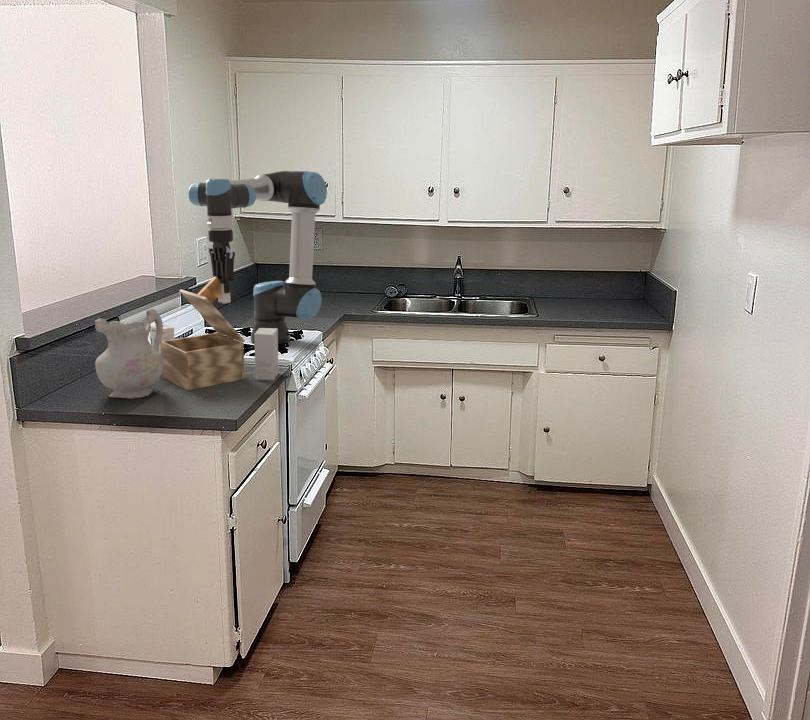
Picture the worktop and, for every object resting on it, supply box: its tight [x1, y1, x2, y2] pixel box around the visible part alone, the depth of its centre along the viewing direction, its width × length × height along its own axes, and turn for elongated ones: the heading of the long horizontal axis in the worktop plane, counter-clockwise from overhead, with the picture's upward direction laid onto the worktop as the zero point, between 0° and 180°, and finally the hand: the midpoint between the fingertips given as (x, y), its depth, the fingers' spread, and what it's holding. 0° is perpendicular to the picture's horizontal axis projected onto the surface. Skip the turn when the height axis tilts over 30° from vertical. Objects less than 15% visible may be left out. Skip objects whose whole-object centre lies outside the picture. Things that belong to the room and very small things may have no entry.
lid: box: [179, 276, 246, 344], centre depth 246 cm, size 20×18×10 cm
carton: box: [160, 332, 246, 391], centre depth 246 cm, size 20×18×12 cm
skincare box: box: [253, 328, 279, 381], centre depth 247 cm, size 8×7×16 cm
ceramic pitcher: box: [94, 308, 164, 400], centre depth 229 cm, size 22×20×25 cm
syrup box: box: [149, 324, 175, 354], centre depth 256 cm, size 6×6×14 cm
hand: (224, 302), depth 246 cm, fingers closed on lid, 2 cm apart
